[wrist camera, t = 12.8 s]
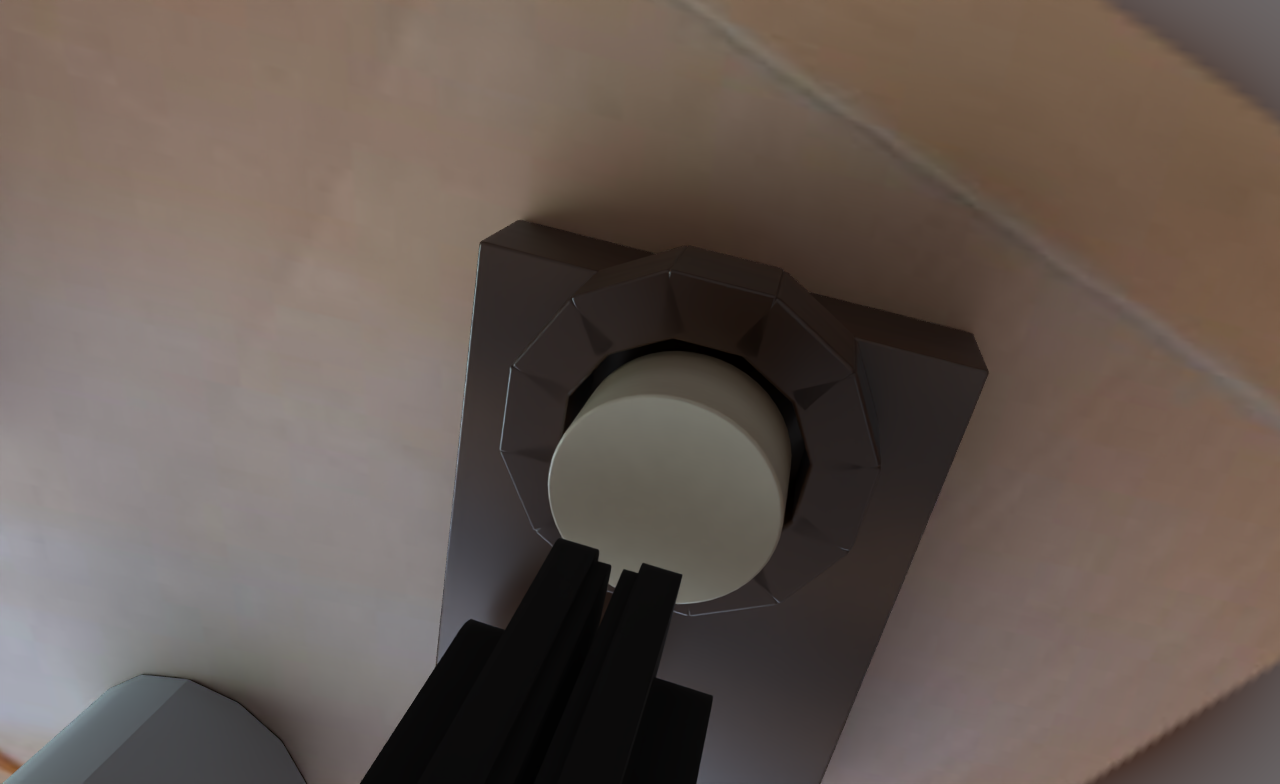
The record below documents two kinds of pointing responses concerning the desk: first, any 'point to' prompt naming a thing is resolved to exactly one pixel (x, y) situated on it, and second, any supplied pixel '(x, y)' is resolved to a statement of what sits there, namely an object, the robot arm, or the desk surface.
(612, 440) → the switch
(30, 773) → the cup
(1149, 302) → the desk surface
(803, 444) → the lamp base
